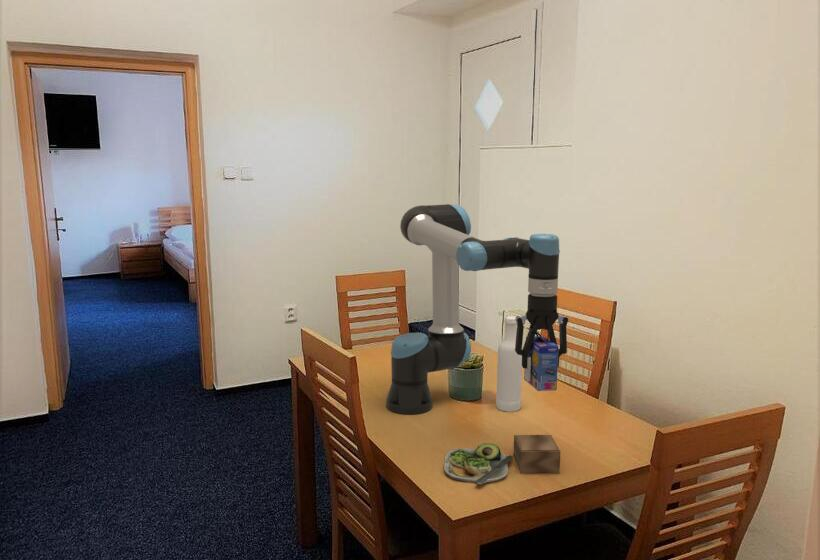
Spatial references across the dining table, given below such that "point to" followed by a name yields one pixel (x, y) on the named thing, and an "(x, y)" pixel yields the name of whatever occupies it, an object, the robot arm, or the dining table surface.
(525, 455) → the brown wooden block
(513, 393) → the bottle
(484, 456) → the avocado toast plate
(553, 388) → the ink cartridge box
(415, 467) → the dining table surface
